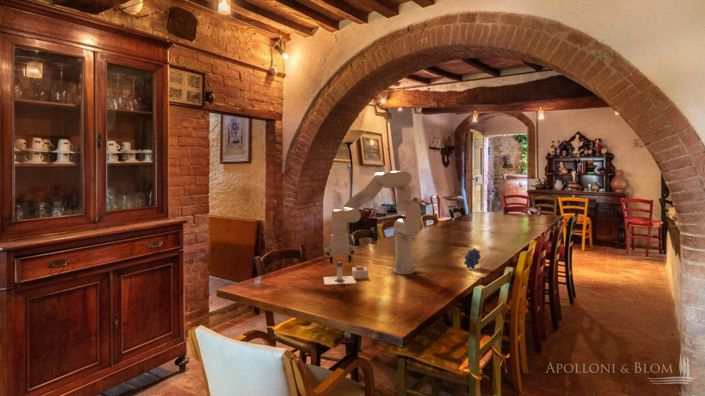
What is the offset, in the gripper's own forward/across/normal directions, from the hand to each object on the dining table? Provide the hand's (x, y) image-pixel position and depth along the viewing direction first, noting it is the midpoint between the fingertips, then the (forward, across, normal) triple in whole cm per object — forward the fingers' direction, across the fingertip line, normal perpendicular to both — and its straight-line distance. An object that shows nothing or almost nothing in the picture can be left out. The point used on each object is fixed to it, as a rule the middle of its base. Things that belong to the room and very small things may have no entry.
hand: (340, 263), depth 225 cm
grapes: (+13, -81, -17) cm, 84 cm away
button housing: (+10, -11, -7) cm, 17 cm away
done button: (+7, -11, -7) cm, 15 cm away
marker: (+10, +1, 0) cm, 10 cm away
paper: (+10, +1, -1) cm, 10 cm away
